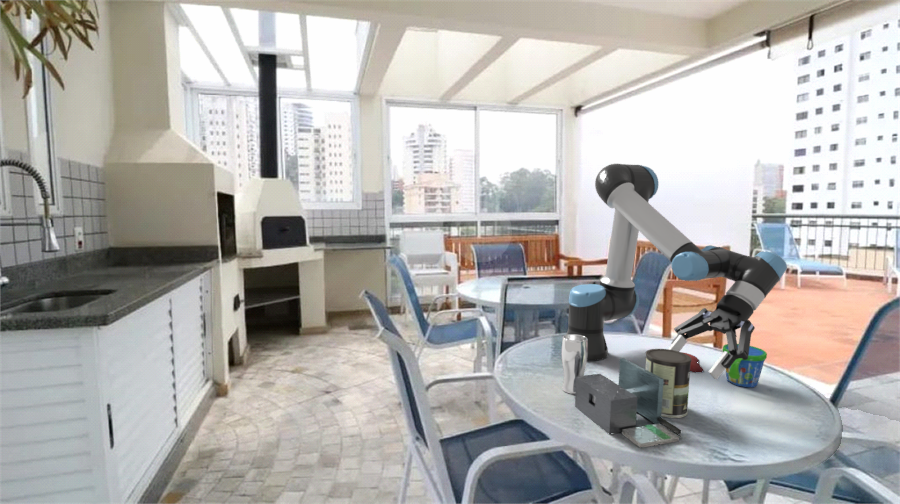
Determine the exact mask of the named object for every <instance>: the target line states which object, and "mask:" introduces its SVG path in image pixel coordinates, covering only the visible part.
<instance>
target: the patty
mask: <svg viewBox="0 0 900 504" xmlns="http://www.w3.org/2000/svg"><path fill="white" fill-rule="evenodd" d="M681 352H682V351H681ZM682 353H684V354H687V355H688V356H690V357H691V359H692V360H691V364H690V371H692V372H691V373H696V372H701V373H703V372H704V369H703V367H702V366H701V365H700V363H699V362H698V361H700V360H699V358H698V357H696V356H695V355H693V354H690V353H687V352H682ZM697 362H698V363H697ZM702 371H703V372H702Z"/></svg>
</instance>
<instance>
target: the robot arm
mask: <svg viewBox="0 0 900 504" xmlns="http://www.w3.org/2000/svg"><path fill="white" fill-rule="evenodd" d="M594 187H595V191H596V194H597V195H598V197H599V198H600V199H601V200H602V201H603V203H604V204H605V205H606V206H608V207H609V208H611V209H614V212H613V213H614V214H613V222H612V228H611V234H610V242H609V247H608V254H607V263H606V269H605V275H604V276H603V277H601V278H600V280H599V284H595V283H587V284H584V283H583V284H579V285H576V286H573V287H572V288H571V289H570V290H569V297H568V320H567V321H568V322H567V324H568V325H567V332H566V334H565V335H567V334H577V335H582V336H585V337H587V339H588V340H587V341H588V357H587V362H589V361H592V362H593V361H595V362H596V361H602V360H604V359H606V358H608V355H609V348H608V345H607V341H606V338H605V335H604V327H605V326H604V324H605V322H607V321H612V320H614V321H615V320H621V319H625V318H627V317H630V316H632V315H633V314H635V313H636V311H637V310H638V308H639V305H640V296H639V294H638V291H637V289H636V287H635V286H636V284H635V283H634V282H633V280H632V277H633V271H634V270H633V269H634V263H635V259H636V258H635V256H636V251H637V243H638V238H639V234H640V233H641V234H642V235H643V237H644V238H646V239H647V240H648V241H649V242H650V243H651V244H652V245H653V246H654V247H655V248H656V249H657V250H658V251H660V253H661V254H662V255H664V257H665V258H666V259H668V261H670V263H671V269H672V272H673V273H672V274H674V276H675V277H676V278H678V279H679V280H682V281H685V282H686V281H687V282H691V281H693V282H697V281H702V280H705V279H706V280H707V279H715V278H724V279H727V280H730V281H733V282H734V283H733V284H732V285H731V286H730V288H728V290H727V291H726V292H725V294H724V295H723V296H722V297H721V298H720V300H719V301H718V302H717V304H716V308H715V310H713V311H709V310H708V308H706V307H703V308H702V309H701V310H700V311H698V313H696V314H695V315H693V316H692V317H690V318H688V319H687V320H685V321H684V322H682V323H681V324H678V325H677V326H675V327H674V328H673V330H674V331H675V333H676V334H677V335H676V336H675V338H674V339H673V340H672V341H671V345H670V346H669V347H668V349H669V350H674V351H679V352H681V351H682V349H683V348H684V346H686V344H687V342H688V341H687V339H690V338H693V337H696V336H698V335H701V334H702V333H705V332H711V331H714V332H717V333H718V332H720V333H722V334H723V335H726V344H728V349H729V350H728V351H729V353H728V352H726V351H724V352H722V354H721V355H720V356H719V358H718V359H717V360H716V361H715V362H714V364H713V365H712V367H711V368H710V369H709V370H708V373H709V374H710V375H711V377H712V378H713V379H715V380H717V381H718V379H719V377H721V375H722V374H723V373H724V371H726V368H727V369H728V368H730V366H731V365H732V364H733V363H734V361H735V360H736V359H738V358H742V359H744V360H746V359H748V355H749V347H750V346H751V337H752V333H753V332H754V331H755V329H756V327H755V326H754V324H753V323H752V322H751V321H750V320H749V319H750V318H751V317H752V315H753V314H754V311H756V310H757V309H758V308H759V306H760V304H762V302H763V301H764V299H766V297H767V296H768V294H769V293H770V292H771V291H772V290H773V289H774V288H775V286H776V285H777V283H778V282H780V280H781V278H782V277H783V275H785V273H786V271H787V269H788V265H787V262H786V260H784V259H783V257H781V256H780V255H779V254H776V253H774V252H771V251H759V252H758V253H757V254H756V255H754V257H753V256H750V255H746V254H742V253H739V252H736V251H732V250H729V249H726V248H724V247H722V246H715V245H709V244H708V245H706V246H705V247H704V248H700V247H698V246H697V245H696V244H695V243H694V242H693V241H692V240H691V239H689V238H688V237H687V236H686V235H685V234H684V233H683V232H682V231H681V230H679V229H678V228H677V227H676V226H675V225H674V224H672V223H671V221H669V220H668V219H667V218H666V217H665V216H664V215H662V214H661V213H660V211H658V210H657V209H656V208H655V207H654V206H652V205H651V203H650V202H649V201H650V199H652V198H653V197H654V196H655V195H656V194H657V192H658V189H659V178H658V176H657V173H655V171H654V170H653V169H652V168H650V167H648V166H645V165H642V164H626V163H623V164H622V163H610V164H608V165H607V166H605V167H603V168H601V169H600V171H599V172H598V173H597V175H596V178H595V182H594ZM639 232H640V233H639ZM739 329H740V333H739V338H738V341H737V332H736V330H739ZM737 344H739V345H738V346H737Z"/></svg>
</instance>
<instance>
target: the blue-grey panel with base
mask: <svg viewBox="0 0 900 504" xmlns="http://www.w3.org/2000/svg"><path fill="white" fill-rule="evenodd" d="M618 368H619V371H618V385H619V386H621V387H622V388H624V389H625V390H627V391H629V392H630V393H632V394H633V395H635V396H637V411H636V413H638V414H640V415H641V416H642V417H645V418H646V419H647V420H649V421H650V422H652V423H653V424H660V423H662V424H663V425H665V426H667V427H668V428H670V429H671V430H673V431H674V432H676V433H677V434H679V435H681V434H682V430H681V429H680V428H679V427H677V426H676V425H674V424H672V423H671V422H670V421H668V420H666V419H665V418H664V417H663V416H661V411H662V396H663V381H664V379H663V378H661V377H659V376H657V375H655V374H653V373H651V372H649V371H648V370H646V369H645V368H644V367H642V366H641V365H640V366H639V365H638V364H636V363H634V362H633V361H631V360H628V359H627V358H624V357H623V358H621V357H620V358H619V367H618ZM592 402H594V403H595V396H592ZM660 425H661V424H660Z"/></svg>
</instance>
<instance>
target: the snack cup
mask: <svg viewBox="0 0 900 504" xmlns="http://www.w3.org/2000/svg"><path fill="white" fill-rule="evenodd" d="M738 345H739V343H737V346H738ZM728 350H729V349H728V343H726V344H724V345H723V346H722V353H724V351H726V352H728V353H729V351H728ZM767 357H768V353H767V352H766V351H765V350H764V349H762V348H759V347H756V346H752V345H750V347H749V355H748V359H746V360H744V359H742V358H738V359H736V360H735V361H734V363H733V364H732V365H731V366H730V368H728V369H727V368H726V369H725V377H726V381H727V382H729V383H731V384H732V385H735V386H738V387H742V388H755V387H757V385H758V384H759V381H760V377H761V373H762V370H763V367H764V363H765V360H767Z"/></svg>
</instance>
